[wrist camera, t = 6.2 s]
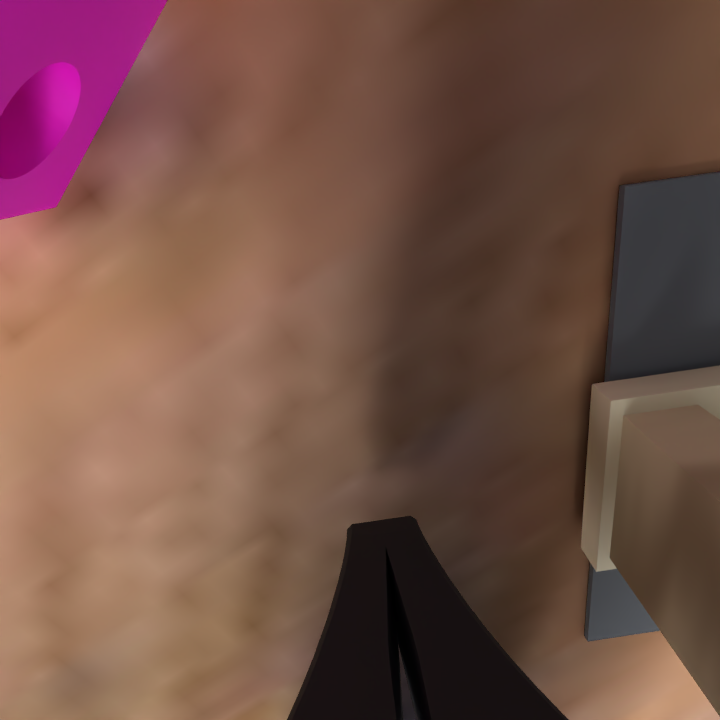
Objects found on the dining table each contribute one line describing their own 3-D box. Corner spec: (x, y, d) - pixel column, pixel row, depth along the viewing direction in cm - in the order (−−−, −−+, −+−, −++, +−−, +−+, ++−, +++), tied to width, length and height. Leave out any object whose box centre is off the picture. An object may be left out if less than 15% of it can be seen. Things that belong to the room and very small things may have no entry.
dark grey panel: (726, 613, 15) (731, 619, 15) (584, 635, 15) (587, 641, 15) (836, 155, 10) (845, 155, 10) (619, 185, 10) (625, 186, 10)
